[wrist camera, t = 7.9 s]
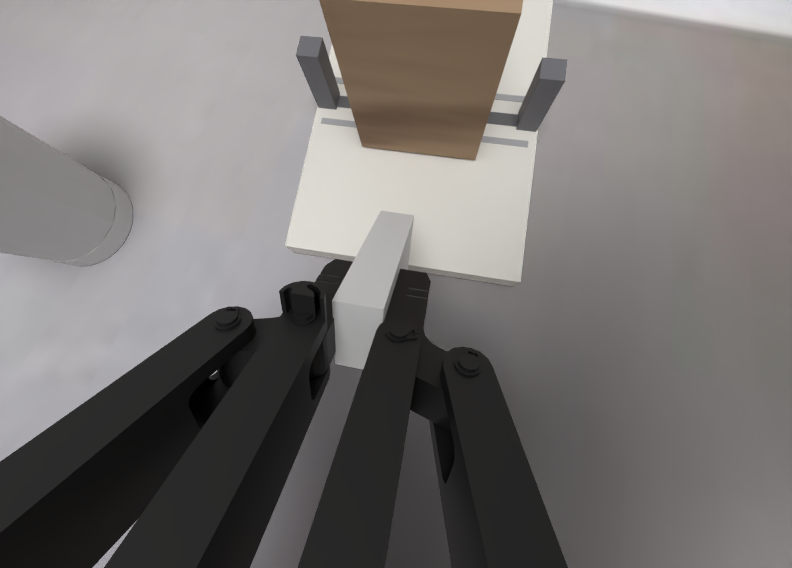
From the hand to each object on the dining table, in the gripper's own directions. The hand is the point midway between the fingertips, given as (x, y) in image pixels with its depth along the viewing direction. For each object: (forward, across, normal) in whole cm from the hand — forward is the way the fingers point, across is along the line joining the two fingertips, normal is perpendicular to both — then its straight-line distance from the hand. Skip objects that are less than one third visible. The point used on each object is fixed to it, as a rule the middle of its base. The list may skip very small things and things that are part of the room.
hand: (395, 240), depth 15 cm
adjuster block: (+10, 0, +4) cm, 11 cm away
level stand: (+11, 0, +3) cm, 11 cm away
